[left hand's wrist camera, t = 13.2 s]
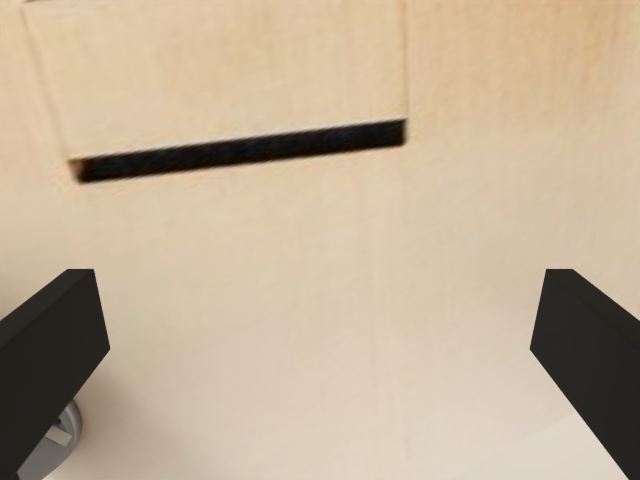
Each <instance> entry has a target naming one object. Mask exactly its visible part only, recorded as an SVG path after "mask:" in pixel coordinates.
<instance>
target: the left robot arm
mask: <svg viewBox="0 0 640 480" xmlns="http://www.w3.org/2000/svg"><path fill="white" fill-rule="evenodd" d="M109 350H110V345H109V340H108V335H107V330H106V326H105V321H104V316H103V311H102V306H101V302H100V297H99V292H98V287H97V282H96V278H95V273H94V269H67V270H65V271H64V272H63V273H62V274H60V275H59V276H58V277H56V278H55V279H54V280H53V281H51V282H50V283H49V284H47V285H46V286H45V287H44V288H42V289H41V290H40V291H38V292H37V293H36V294H34V295H33V296H32V297H31V298H29V299H28V300H27V301H25V302H24V303H23V304H22V305H20V306H19V307H18V308H16V309H15V310H14V311H13V312H11V313H10V314H9V315H7V316H6V317H5V318H4V319H2V320H1V321H0V480H42V479H43V478H44V477H46V476H47V475H48V474H49V473H51V472H52V471H53V470H54V469H55V468H57V467H58V466H59V465H60V464H61V463H62V462H63V461H64V460H65V459H66V458H67V457H68V456H69V454H70V453H71V451H72V450H73V448H74V447H75V445H76V443H77V442H78V440H79V437H80V433H81V418H80V415H79V412H78V409H77V407H76V405H75V403H74V402H73V400H72V399H73V398H74V396H75V395H76V394H77V392H78V391H79V390H80V388H81V387H82V386H83V384H84V383H85V382H86V380H87V379H88V378H89V377H90V375H91V374H92V373H93V371H94V370H95V369H96V367H97V366H98V365H99V363H100V362H101V361H102V359H103V358H104V357H105V355H106V354H107V353H108V352H109ZM530 350H531V352H532V353H533V354H534V355H535V357H536V358H537V359H538V361H539V362H540V363H541V365H542V366H543V367H544V369H545V370H546V371H547V373H548V374H549V375H550V377H551V378H552V379H553V380H554V382H555V383H556V384H557V386H558V387H559V388H560V390H561V391H562V392H563V394H564V395H565V396H566V398H567V399H568V400H569V402H570V403H571V404H572V405H573V407H574V408H575V409H576V411H577V412H578V413H579V415H580V416H581V417H582V419H583V420H584V421H585V423H586V424H587V425H588V427H589V428H590V429H591V430H592V432H593V433H594V434H595V436H596V437H597V438H598V440H599V441H600V442H601V444H602V445H603V446H604V448H605V449H606V450H607V452H608V453H609V454H610V455H611V457H612V458H613V459H614V461H615V462H616V463H617V465H618V466H619V467H620V469H621V470H622V471H623V473H624V474H625V475H626V477H627V478H628V479H629V480H640V321H639V320H638V319H636V318H635V317H634V316H633V315H631V314H630V313H629V312H627V311H626V310H625V309H624V308H622V307H621V306H620V305H618V304H617V303H616V302H615V301H613V300H612V299H611V298H609V297H608V296H607V295H606V294H604V293H603V292H602V291H600V290H599V289H598V288H596V287H595V286H594V285H593V284H591V283H590V282H589V281H587V280H586V279H585V278H584V277H582V276H581V275H580V274H578V273H577V272H576V271H575V270H573V269H546V273H545V278H544V282H543V287H542V292H541V297H540V302H539V306H538V311H537V316H536V321H535V326H534V330H533V335H532V340H531V345H530Z"/></svg>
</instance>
